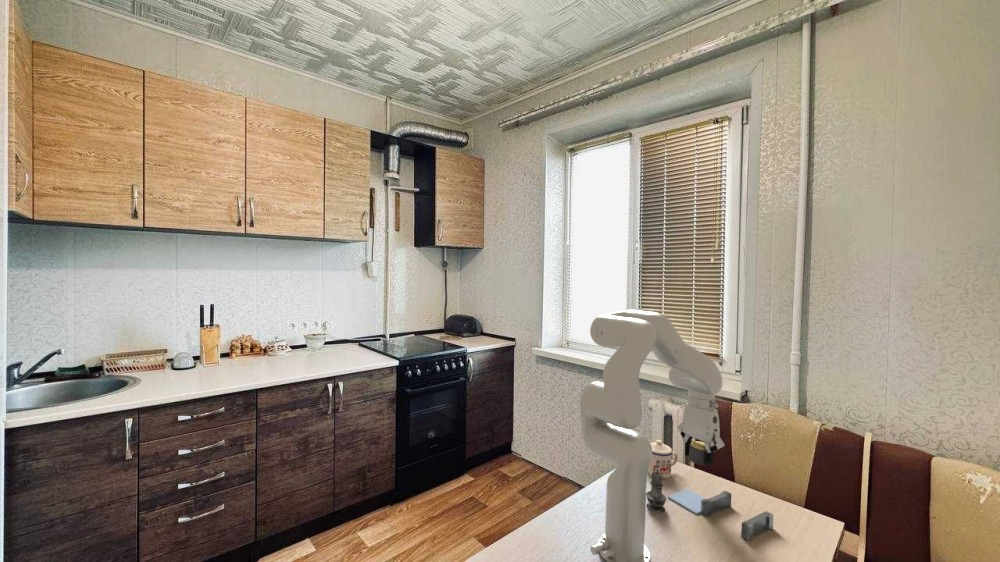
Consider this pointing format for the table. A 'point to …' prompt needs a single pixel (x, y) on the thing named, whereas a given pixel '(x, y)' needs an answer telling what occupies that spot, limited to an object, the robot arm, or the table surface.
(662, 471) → the teacup with lid
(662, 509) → the dark grey turned post
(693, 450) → the grey and yellow cylinder
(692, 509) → the mat
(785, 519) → the table surface
